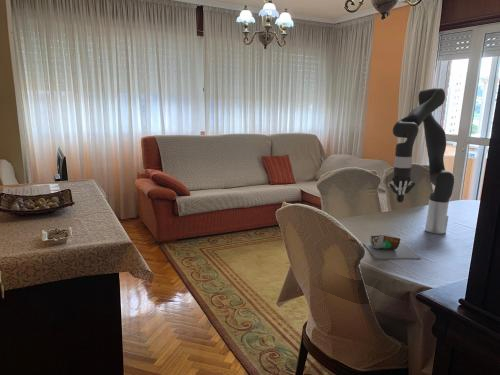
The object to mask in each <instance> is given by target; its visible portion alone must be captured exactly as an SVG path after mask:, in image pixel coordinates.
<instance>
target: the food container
mask: <svg viewBox="0 0 500 375" xmlns="http://www.w3.org/2000/svg"><path fill="white" fill-rule="evenodd" d="M369 239H370V243H371V245H372V247H374V248H376V249H379V248H385V249H397V248H398V246H399V243H401V238H400V237H395V236H394V237H393V236H389V235H383V234H378V235H370V238H369Z"/></svg>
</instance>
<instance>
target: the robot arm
mask: <svg viewBox="0 0 500 375" xmlns="http://www.w3.org/2000/svg"><path fill="white" fill-rule="evenodd" d="M417 98H418V106H416V107H415V108H413V109H412V110H411V111H410V112H409V113H408V114H407V115H406V116H405V117H403V118H401V119H400V120H398V121H397V122H395V124H394V125H393V127H392V134H393V135H394V136H395V138H404V139H406V141H404V142H399V143H396V145H395V154H394V161H393V174H392V175H393V176H392V179H391V181H389V182H387V183H386V184H387V186H388V188H389V189H390V190H391V191H392V193H393V194H396V201H397V202H398V203H403V201H405V200H404V198H405V194H408V193H409V194H410V192H411V190H412V189H413V188H414V187H415V185H416V183H415V182H413V181H412V179H411V176H412V165H413V164H412V163H413V160H412V159H413V157H412V156H413V148H414V144H415V140H416V138H417V137H418V133H419V127H420V126H421V124H422V123H423V129H424V138H425V144H426V145H425V146H426V151H427V158H428V165H429V167H428V169H429V170H428V171H429V173H428V174H429V180H430V183H431V184H432V185H433V186H434V191H433V192H431V193H430V194H429V199H428V207H427V214H426V222H425V227H424V228H425V229H424V230H425V232H428V233H431V234H435V235H436V234H437V235H442V234H447V228H448V221H449V215H448V209H449V203H450V199H451V197H452V195H453V191H454V184H455V176H454V174H453V173H452V172H450V171H447V170H446V168H445V163H444V162H445V161H444V155H445V153H446V148H447V138H446V137H447V136H446V132H445V130H444V128H443V126H442V125H441V124H440V123H439V122H438V121H437V120H436V118H435V116H433V112H434V111H435V110H437V109H439V107H441V106H442V105H443V104H444V102H445V100H446V92H445V90H444V89H443V88H442V87H437V86H436V87H432V88H426V89H422V90H420V91H419V92H418V97H417ZM394 186H395V187H394Z"/></svg>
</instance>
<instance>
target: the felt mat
mask: <svg viewBox="0 0 500 375" xmlns="http://www.w3.org/2000/svg"><path fill="white" fill-rule="evenodd" d="M362 245H364V247H365V248H366V249H367V250H368V252H369V253H371V255H372V256H373V257H374V259H376V260H377V259H379V260H381V259H382V260H421V259H422V257H421V256H419V254H417V253H416V252H415V251H414V250H413V249H412V248H411V247H409V246H408V245H407V244H406V243H404V242H403V243H401V242H400V243H399V246H398V248H397V249H385V248H379V249H376V248H374V247H372V245H371V242H363V244H362Z"/></svg>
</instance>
